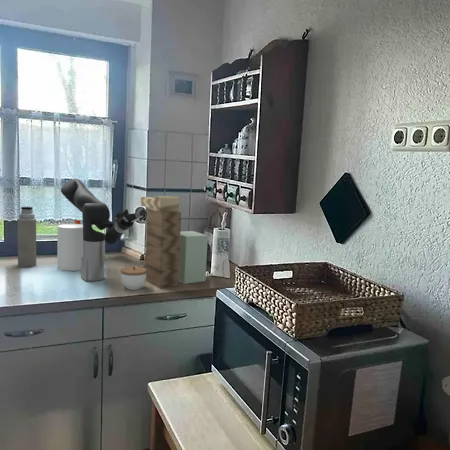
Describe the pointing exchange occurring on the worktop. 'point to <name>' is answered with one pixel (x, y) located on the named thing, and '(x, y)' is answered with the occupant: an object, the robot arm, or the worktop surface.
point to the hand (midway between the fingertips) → (135, 211)
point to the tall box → (163, 248)
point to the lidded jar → (133, 277)
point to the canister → (69, 246)
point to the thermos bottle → (26, 238)
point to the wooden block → (161, 203)
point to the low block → (192, 257)
